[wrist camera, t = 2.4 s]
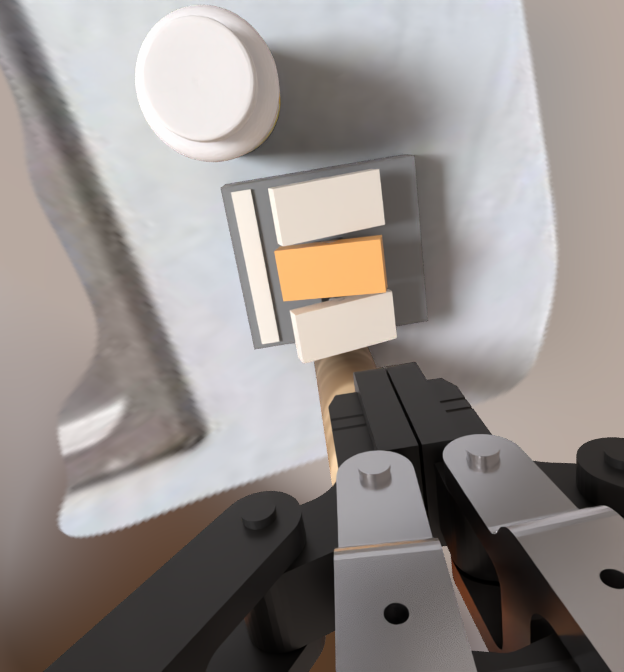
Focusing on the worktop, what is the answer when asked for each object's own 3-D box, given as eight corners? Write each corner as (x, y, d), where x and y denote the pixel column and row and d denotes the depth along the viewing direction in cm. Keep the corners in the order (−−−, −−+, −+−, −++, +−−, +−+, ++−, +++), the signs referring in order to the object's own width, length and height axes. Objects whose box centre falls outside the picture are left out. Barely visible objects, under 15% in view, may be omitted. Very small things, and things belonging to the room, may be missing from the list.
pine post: (310, 339, 32) (329, 472, 19) (367, 329, 32) (425, 456, 19) (318, 390, 34) (342, 548, 21) (374, 381, 34) (432, 533, 21)
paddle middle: (281, 244, 27) (274, 251, 26) (382, 233, 26) (379, 239, 24) (290, 292, 28) (283, 301, 26) (388, 283, 26) (385, 292, 25)
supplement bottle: (169, 40, 26) (104, -18, 17) (279, 41, 27) (276, -15, 17) (179, 157, 28) (125, 165, 19) (281, 157, 29) (280, 164, 19)
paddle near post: (287, 308, 27) (295, 315, 25) (379, 285, 28) (392, 291, 27) (295, 354, 28) (303, 363, 26) (385, 330, 29) (396, 338, 27)
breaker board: (225, 184, 29) (217, 190, 25) (403, 154, 29) (421, 156, 25) (256, 334, 32) (253, 358, 28) (417, 307, 32) (434, 329, 28)
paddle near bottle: (265, 187, 25) (272, 189, 23) (366, 169, 26) (379, 169, 24) (275, 242, 25) (283, 246, 24) (372, 221, 27) (384, 224, 25)
